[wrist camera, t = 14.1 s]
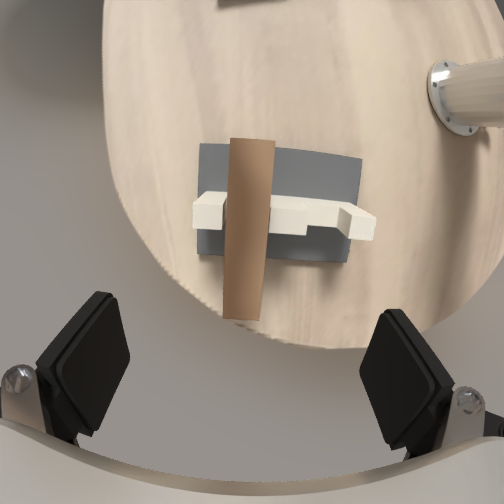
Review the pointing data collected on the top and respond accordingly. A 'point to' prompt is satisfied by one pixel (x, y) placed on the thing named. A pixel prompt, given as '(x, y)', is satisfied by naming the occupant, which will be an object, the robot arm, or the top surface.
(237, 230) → the walnut plate
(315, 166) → the slotted base
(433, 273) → the top surface
